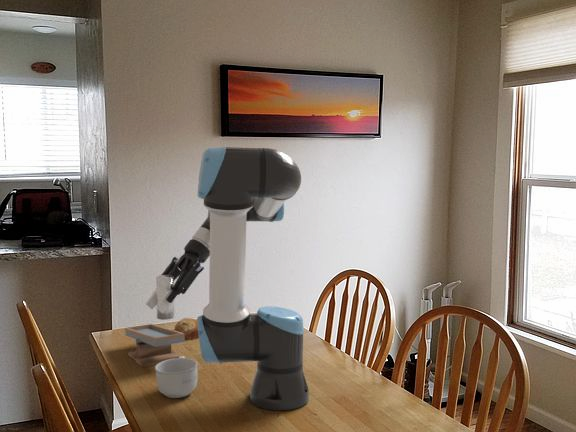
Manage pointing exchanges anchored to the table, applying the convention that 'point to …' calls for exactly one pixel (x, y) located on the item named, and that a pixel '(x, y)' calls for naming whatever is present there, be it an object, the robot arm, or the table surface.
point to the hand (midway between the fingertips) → (154, 308)
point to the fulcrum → (151, 354)
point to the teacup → (176, 377)
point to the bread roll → (188, 328)
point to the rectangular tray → (154, 335)
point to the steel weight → (161, 289)
